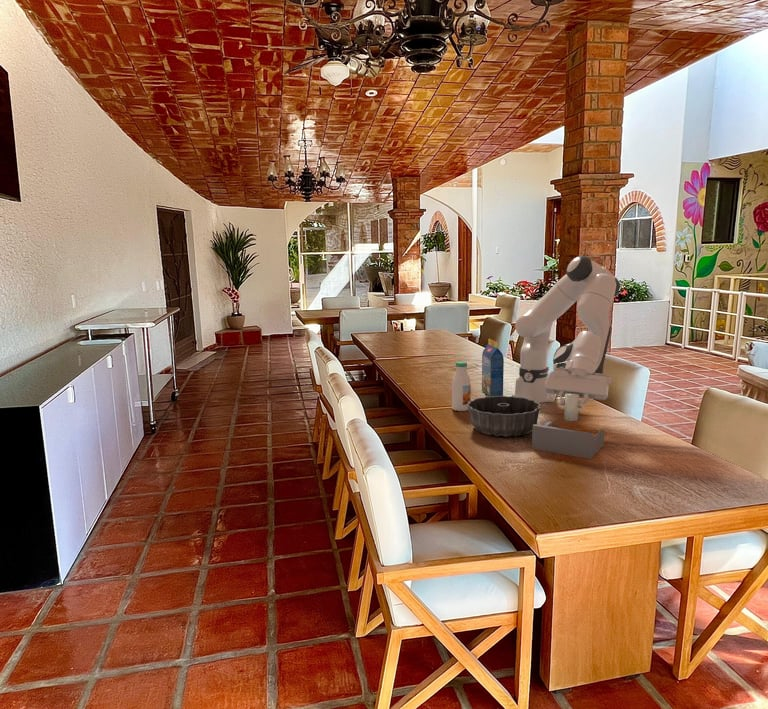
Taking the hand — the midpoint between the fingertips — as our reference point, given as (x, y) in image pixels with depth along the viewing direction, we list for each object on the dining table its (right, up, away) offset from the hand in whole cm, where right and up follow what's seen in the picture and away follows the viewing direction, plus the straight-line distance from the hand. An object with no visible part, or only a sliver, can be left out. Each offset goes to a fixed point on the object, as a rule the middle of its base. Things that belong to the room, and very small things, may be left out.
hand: (571, 405), depth 185 cm
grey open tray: (+1, -14, +4) cm, 14 cm away
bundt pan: (-18, -11, +22) cm, 30 cm away
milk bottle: (-29, -6, +51) cm, 59 cm away
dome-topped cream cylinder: (0, -4, +1) cm, 5 cm away
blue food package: (-12, -1, +74) cm, 75 cm away
